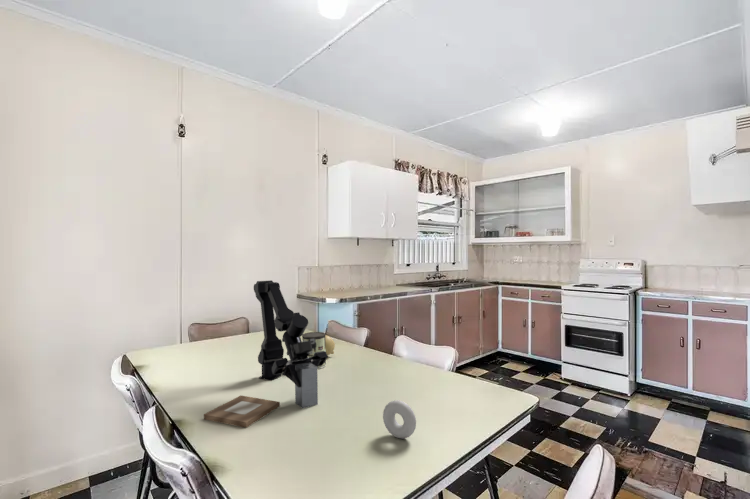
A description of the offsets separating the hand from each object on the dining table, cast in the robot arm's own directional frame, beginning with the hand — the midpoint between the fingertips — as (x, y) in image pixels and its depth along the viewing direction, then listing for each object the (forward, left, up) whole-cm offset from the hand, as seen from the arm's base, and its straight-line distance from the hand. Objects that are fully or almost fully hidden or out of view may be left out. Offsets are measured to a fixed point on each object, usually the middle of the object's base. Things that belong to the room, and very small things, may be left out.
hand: (308, 385), depth 125 cm
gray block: (-1, +1, -7) cm, 7 cm away
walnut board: (-16, -12, -7) cm, 21 cm away
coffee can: (-20, +38, -7) cm, 43 cm away
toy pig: (-24, +53, -7) cm, 58 cm away
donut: (+35, -10, -7) cm, 37 cm away
